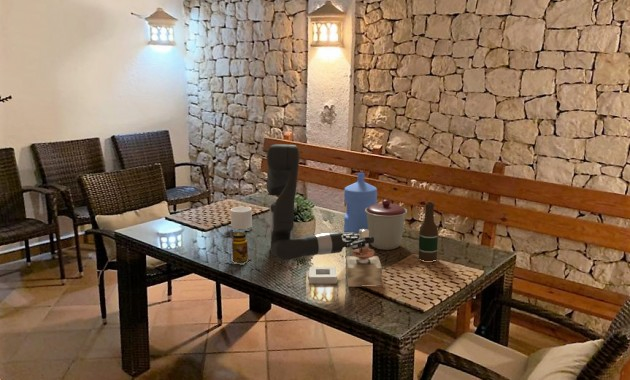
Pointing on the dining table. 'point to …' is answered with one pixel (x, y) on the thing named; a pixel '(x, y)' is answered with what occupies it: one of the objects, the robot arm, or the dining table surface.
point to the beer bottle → (428, 235)
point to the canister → (386, 224)
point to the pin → (364, 249)
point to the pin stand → (322, 275)
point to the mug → (241, 217)
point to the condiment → (239, 247)
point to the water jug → (358, 204)
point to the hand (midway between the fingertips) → (370, 237)
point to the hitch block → (363, 272)
